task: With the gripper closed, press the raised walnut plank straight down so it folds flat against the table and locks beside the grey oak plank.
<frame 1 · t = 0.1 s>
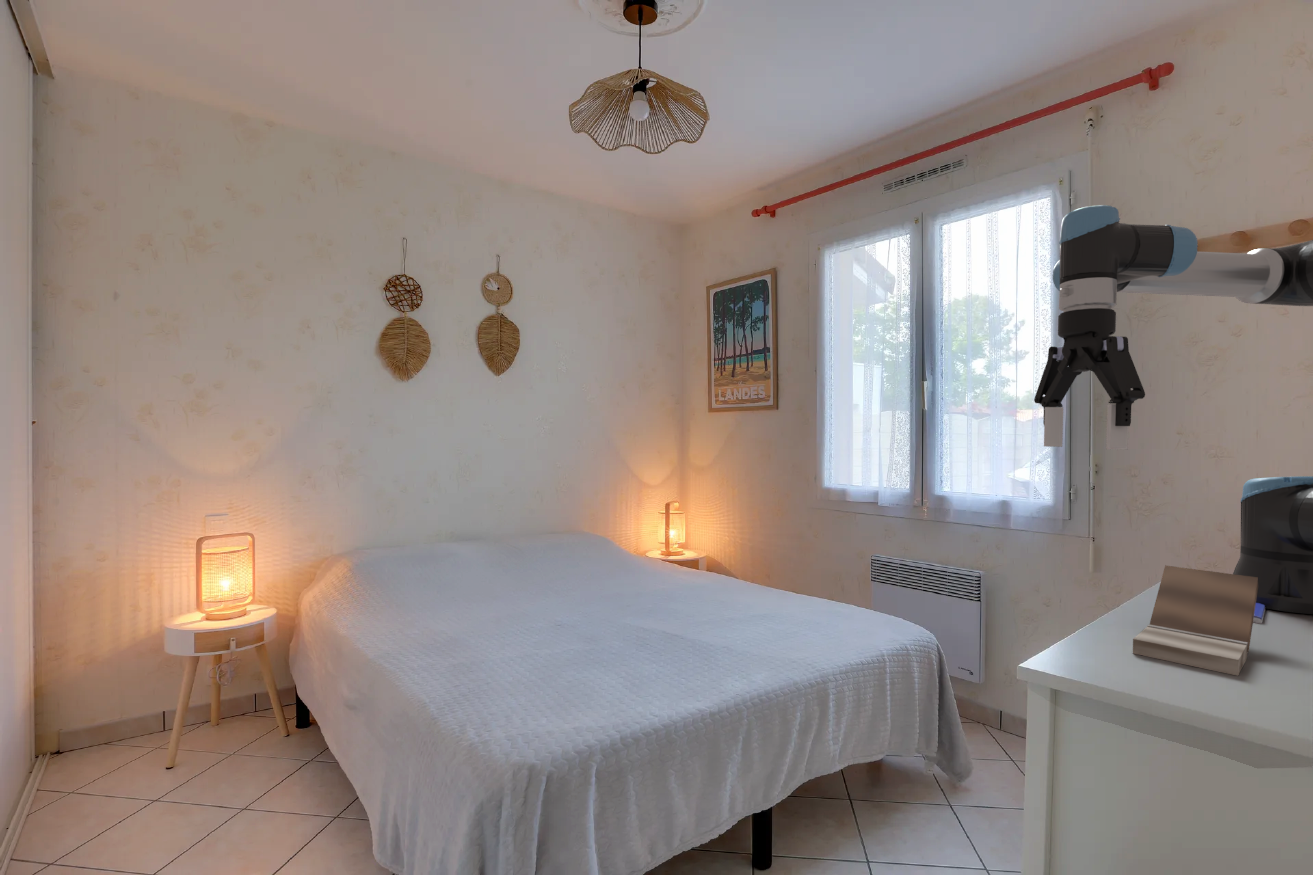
hand: (1082, 448, 104), 28 cm above the table, fingers open, 13 cm apart
hard drive: (1231, 615, 116), on the table
walnut plank: (1203, 605, 99), point 5 cm above the table, hinge at 35.0°
grey oak plank: (1196, 647, 95), on the table
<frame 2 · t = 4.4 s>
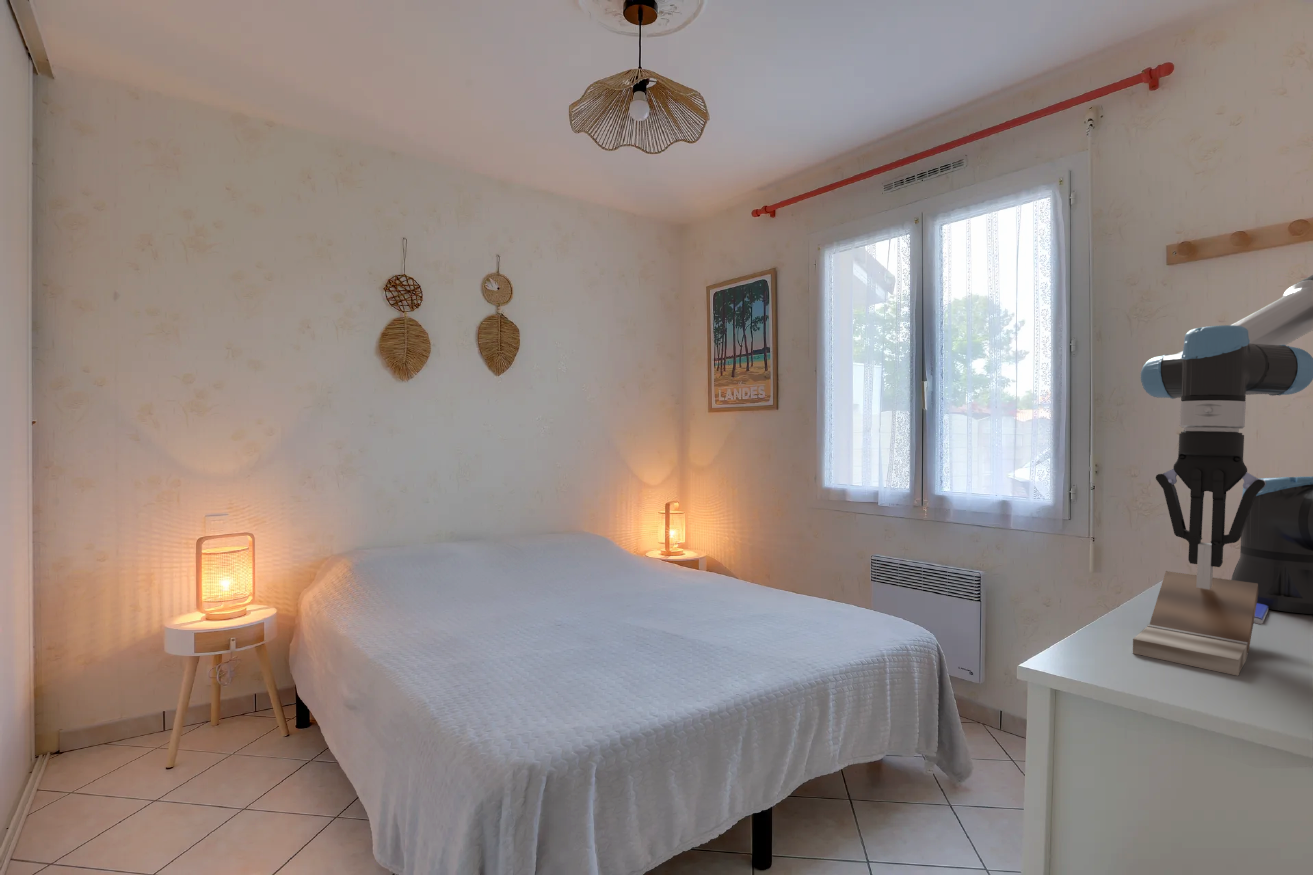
hand: (1204, 586, 100), 7 cm above the table, fingers closed
walnut plank: (1203, 609, 99), point 4 cm above the table, hinge at 29.8°, touching gripper
everything else where it was.
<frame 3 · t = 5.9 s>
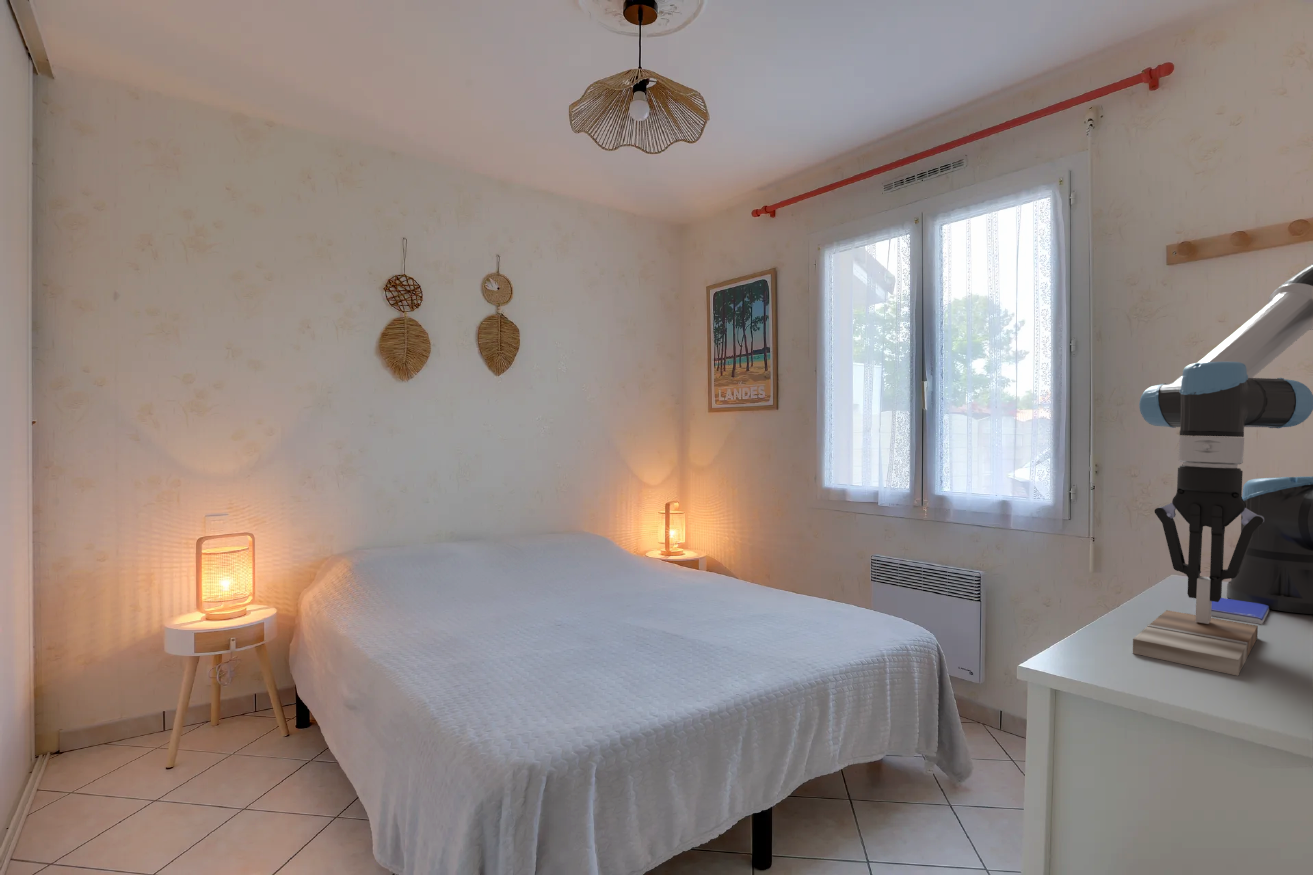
hand: (1203, 620, 101), 2 cm above the table, fingers closed
walnut plank: (1203, 631, 100), point 1 cm above the table, hinge at -0.5°, touching gripper
everything else where it was.
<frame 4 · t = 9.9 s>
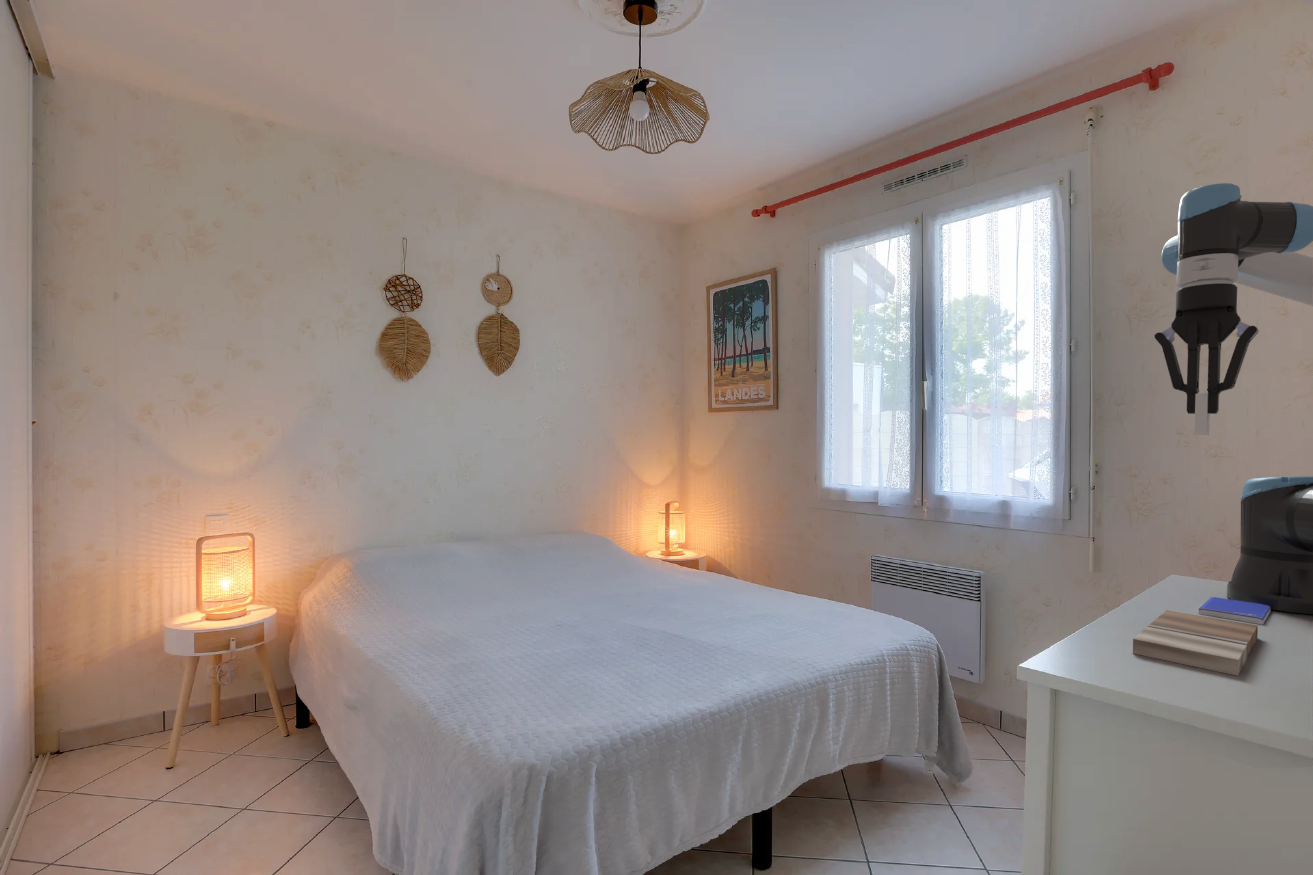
hand: (1201, 434, 107), 30 cm above the table, fingers closed
walnut plank: (1203, 631, 100), point 1 cm above the table, hinge at -0.6°
everything else where it was.
at the end: walnut plank at -1° (first picture: +35°) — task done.
